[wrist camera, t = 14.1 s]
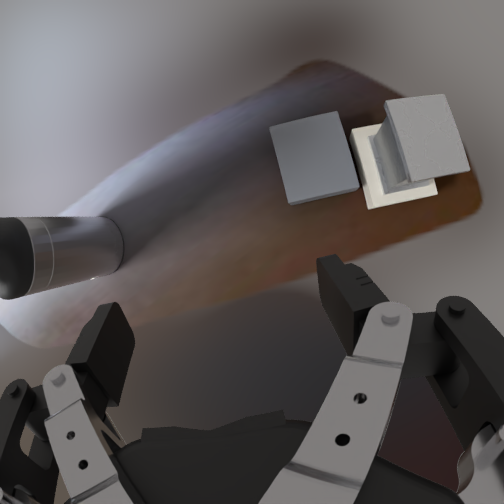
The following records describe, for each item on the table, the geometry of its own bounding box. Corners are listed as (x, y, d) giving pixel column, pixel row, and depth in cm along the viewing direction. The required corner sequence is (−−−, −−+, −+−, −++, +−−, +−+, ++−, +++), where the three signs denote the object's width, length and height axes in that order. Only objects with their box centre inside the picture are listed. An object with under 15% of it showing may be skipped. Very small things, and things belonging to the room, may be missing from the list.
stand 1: (291, 205, 36) (288, 203, 32) (274, 136, 36) (268, 127, 32) (355, 190, 34) (359, 186, 31) (335, 122, 34) (337, 110, 30)
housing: (382, 195, 30) (411, 181, 19) (366, 138, 30) (385, 100, 19) (426, 186, 29) (470, 170, 18) (410, 130, 28) (444, 93, 18)
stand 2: (368, 209, 34) (373, 207, 30) (349, 138, 34) (352, 129, 30) (426, 197, 32) (437, 194, 28) (406, 128, 32) (415, 118, 28)
